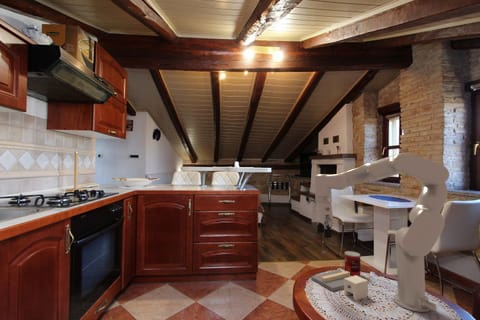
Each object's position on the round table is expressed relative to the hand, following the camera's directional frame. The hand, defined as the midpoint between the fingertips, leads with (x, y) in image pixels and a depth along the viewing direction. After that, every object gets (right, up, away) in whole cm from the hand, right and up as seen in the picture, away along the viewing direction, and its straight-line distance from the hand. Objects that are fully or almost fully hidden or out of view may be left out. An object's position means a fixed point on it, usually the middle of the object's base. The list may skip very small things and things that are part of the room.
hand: (324, 235), depth 115 cm
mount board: (+8, -25, +6) cm, 27 cm away
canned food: (+21, -26, +16) cm, 37 cm away
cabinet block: (+12, -25, -8) cm, 28 cm away
